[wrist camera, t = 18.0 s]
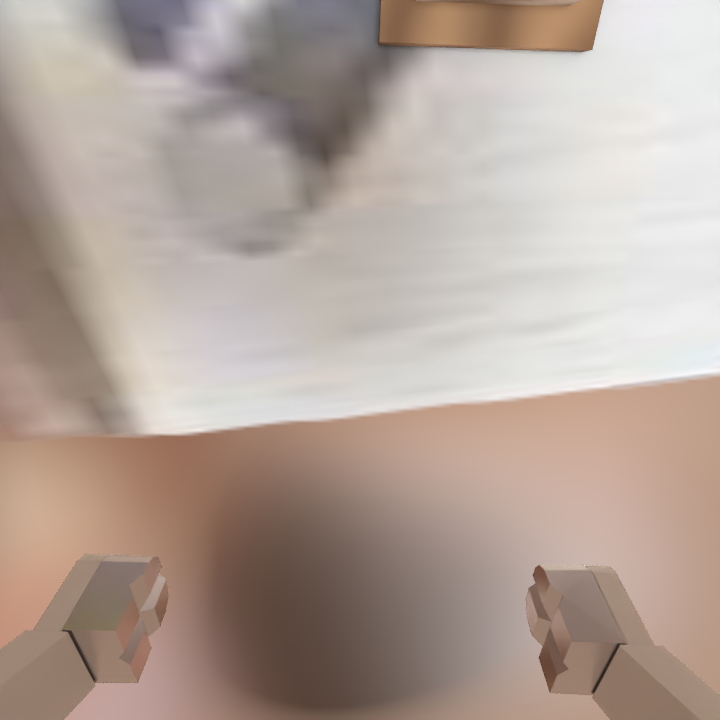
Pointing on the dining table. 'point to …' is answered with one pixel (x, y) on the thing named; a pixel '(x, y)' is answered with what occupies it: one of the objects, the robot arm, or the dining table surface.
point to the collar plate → (491, 24)
